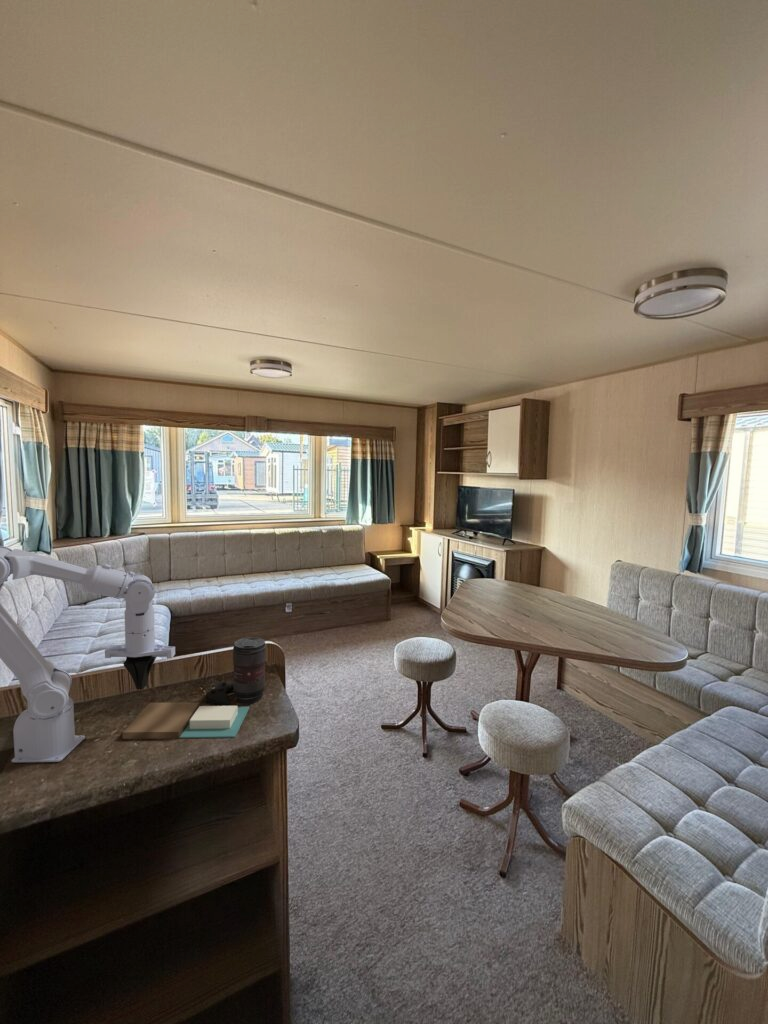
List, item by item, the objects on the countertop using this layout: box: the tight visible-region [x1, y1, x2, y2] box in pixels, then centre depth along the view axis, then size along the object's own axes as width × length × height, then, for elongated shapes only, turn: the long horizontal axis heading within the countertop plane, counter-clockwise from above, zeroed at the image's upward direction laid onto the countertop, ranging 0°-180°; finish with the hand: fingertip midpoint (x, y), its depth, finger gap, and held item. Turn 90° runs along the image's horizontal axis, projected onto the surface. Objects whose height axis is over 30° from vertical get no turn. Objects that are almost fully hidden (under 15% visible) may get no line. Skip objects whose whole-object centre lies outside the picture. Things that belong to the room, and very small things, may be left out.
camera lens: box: [232, 636, 267, 705], centre depth 109 cm, size 8×8×15 cm
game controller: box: [205, 681, 234, 706], centre depth 110 cm, size 10×5×6 cm
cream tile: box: [190, 705, 239, 729], centre depth 99 cm, size 9×6×2 cm, turn 93°
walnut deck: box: [121, 701, 201, 740], centre depth 98 cm, size 12×12×2 cm
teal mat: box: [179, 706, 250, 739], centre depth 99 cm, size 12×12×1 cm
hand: (141, 687), depth 96 cm, fingers closed
